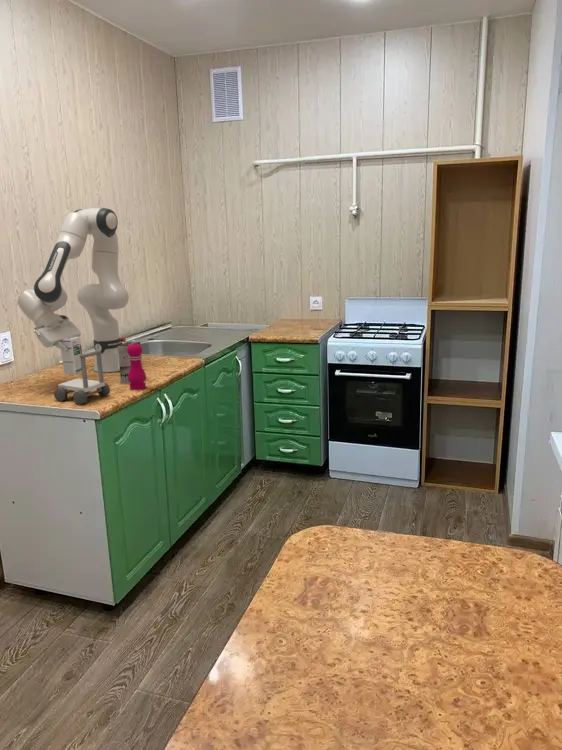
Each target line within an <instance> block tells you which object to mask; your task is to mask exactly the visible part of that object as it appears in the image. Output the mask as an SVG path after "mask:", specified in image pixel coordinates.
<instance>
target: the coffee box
mask: <svg viewBox="0 0 562 750" xmlns="http://www.w3.org/2000/svg"><path fill="white" fill-rule="evenodd" d="M130 344H132V341H130V342H129V341H126V342H123V343H122V345H119V346H118V354H119V367H120V371H119V377H120V383H121V384H131V383H130V382H129V381H128V374H129V371H130V368H131V362H130V360H129V356H130V355H129V354H128V353H127V348H128V346H129V345H130ZM136 344H139V345H141V342H140V341H136ZM142 359H143V358H142ZM142 359H141V366H142V367H143V362H142Z"/></svg>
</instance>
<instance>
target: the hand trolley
mask: <svg viewBox="0 0 562 750" xmlns="http://www.w3.org/2000/svg"><path fill="white" fill-rule="evenodd" d="M95 355H96V356H97V366H98V372H97V374H98V380H93V379H88V373H87V372H88V371H87V363H86V358H89V357H95ZM80 359H81V369H82V372H81V376H82V378H80V377H78V378H75V379H72V380H71V379H70V380H68V381H65V382H62V383H59V384H57V386H58V388H56V389H54V390H53V394H54V398H55V400H57V402H64V401H66V400H67V399H68V396H69V395H68V394H70V393H73V392H74V393H73V396H72V398H73V402H74V403H75V404H76V405H78V406H81V405H83V404H86V403H87V401H88V397H90V396H92V395H95V394H98V395H99V396H100V397H105V396H108V395H109V394H110V393H111V388H110V385H109V384H108V383H107V382H105V381H104V372H103V369H102V359H101V350H96V351H95V350H93V351H88V352H86V353H82V354H81V355H80ZM93 390H94V391H93Z"/></svg>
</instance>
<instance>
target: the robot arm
mask: <svg viewBox="0 0 562 750" xmlns="http://www.w3.org/2000/svg"><path fill="white" fill-rule="evenodd" d="M118 222H119V221H118V216H117V214H116V213H115V212H114V210H112V209H109V208H106V207H103V208H100V207H90V208H83V209H82V208H81V209H79V208H78V209H76V210H74V211H72V212H68V214H66V215H65V218H64V219H63V221H62V223H61V225H60V228H59V229H58V233H57V236H56V239H55V243H54V246H53V249H52V252H51V254H50V256H49V259H48V261H47V264H46V266H45V268H44V271H43V273H42V274H40V276H39V277H38V278H37V279H36V281H35V282H34V285H33V289H31V288H29V289H25V290H23V291H22V292H21V293H20V295H19V296H18V299H17V305H18V307H19V309H20V310H21V312H22V313H23V314H24V315H25V316H26V317H27V318H28V319H29V320H31V321H32V322H33V324H34V325H35V327H34V328H33V332H34V334H35V335H36V337H37V339H38V340H39V342H40V343H41V344H42V346H43V347H45V348H52V347H56V348H58V349H60V351H61V350H63V351H64V352H67V351H68V350H69V348H68V347H67V346H64V345H63V344H61V342H60V341H61V340H63V339H64V338H67V337H71V336H76V337H81V335H82V332H81V330H80V329H79V328H78V327H77V326H76V325H75V323H73V322H72V321H70V318H69V316H67V315H63V314H58V313H55V312H56V311H58V310H59V309H61V308H63V307H64V306H65V305H66V304H67V300H68V294H67V292H66V291H65V289H64V287H63V285H62V281H61V279H62V275H63V273H64V270H65V268H66V266H67V265H66V264H67V263H68V261H69V260H74V259H77V258H79V257H80V256H81V255H82V252H83V251H84V248H85V245H86V242H87V238H88V235H92V237H93V245H92V255H91V256H92V257H91V269H92V272H93V273H95V275H97V277H98V281H99V283H89V284H85V285H84V284H83V285H82V286H80V288H79V289H78V291H77V301H78V303H79V304H80V305H81V306H82V307H83V308H84V309H85V310H86V312H87V314H88V316H89V319H90V321H91V324H92V331H93V347H94V351H96V350H101V359H102V369H103V373H114V372H120V367H119V354H118V346H119V345H122V344H123V343H126V342H127V339H126V337H120V331H119V322H118V320H117V318H115V317H114V316H113V315H112V313H111V312H110V310H120V309H123V308H125V307H126V306H127V305H128V303H129V299H130V298H129V292H128V290H127V289H126V288H125V286H124V285H123V284H122V282H121V280H120V276H119V269H118V268H119V241H118V240H119V238H118V233H117V232H116V231H117V229H118V224H119V223H118ZM93 372H96V373H98V366H97V356H96V355H94V363H93Z"/></svg>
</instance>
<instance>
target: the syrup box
mask: <svg viewBox="0 0 562 750" xmlns="http://www.w3.org/2000/svg"><path fill="white" fill-rule="evenodd" d="M60 342H61V344H63V345H64V346H67V347H68V348H69V350H68V351H67V352H64V351H63V350H61V349H60V353H61V359H62V360H61V361H62V369H63V373H64V375H77V374H80V373H82V369H81V359H80V355H81V354H83V350H82V343H81V336H79V337H76V336H71V337H67V338H64V339H63V340H61V341H60Z"/></svg>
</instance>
